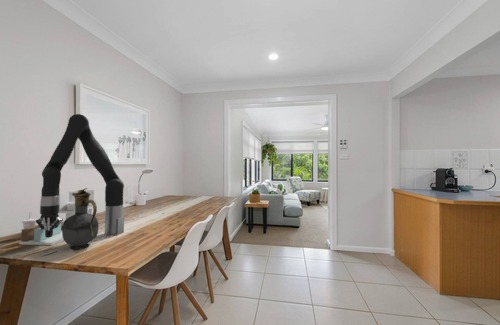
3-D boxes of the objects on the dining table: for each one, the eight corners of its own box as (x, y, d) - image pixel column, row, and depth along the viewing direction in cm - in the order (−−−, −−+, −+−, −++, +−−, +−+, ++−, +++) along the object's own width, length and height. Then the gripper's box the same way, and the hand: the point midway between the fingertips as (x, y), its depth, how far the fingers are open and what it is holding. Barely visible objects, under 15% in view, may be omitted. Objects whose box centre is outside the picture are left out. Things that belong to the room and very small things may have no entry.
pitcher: (82, 241, 115) (84, 186, 116) (105, 247, 108) (107, 188, 109) (58, 248, 105) (60, 188, 106) (81, 255, 98) (84, 190, 99)
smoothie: (18, 239, 118) (20, 213, 118) (24, 235, 123) (25, 211, 124) (34, 237, 121) (35, 212, 121) (39, 234, 126) (40, 210, 127)
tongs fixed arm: (48, 232, 125) (49, 222, 126) (53, 232, 125) (54, 222, 126) (21, 241, 110) (21, 229, 111) (26, 241, 110) (27, 229, 111)
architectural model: (80, 230, 135) (82, 194, 136) (43, 231, 132) (45, 194, 133) (104, 220, 163) (105, 189, 163) (74, 220, 160) (75, 189, 161)
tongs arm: (55, 231, 128) (56, 220, 128) (63, 231, 128) (64, 220, 129) (30, 241, 110) (31, 228, 111) (40, 241, 111) (41, 228, 111)
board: (82, 233, 130) (82, 231, 130) (51, 245, 110) (51, 242, 110) (55, 232, 130) (55, 230, 130) (19, 244, 110) (19, 242, 110)
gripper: (68, 203, 117) (67, 234, 117) (44, 203, 117) (43, 234, 117) (56, 205, 110) (55, 239, 109) (30, 205, 110) (29, 239, 109)
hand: (48, 236), depth 113 cm, fingers closed
